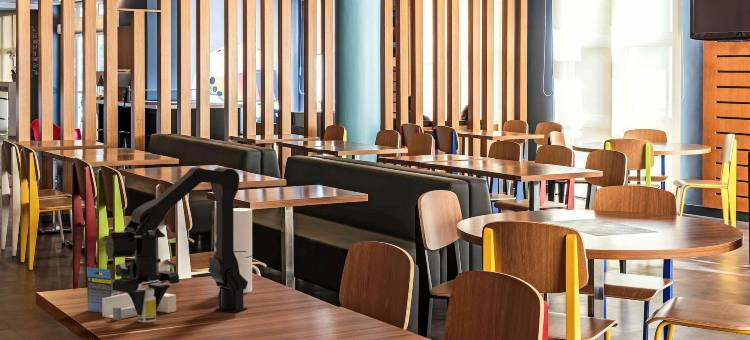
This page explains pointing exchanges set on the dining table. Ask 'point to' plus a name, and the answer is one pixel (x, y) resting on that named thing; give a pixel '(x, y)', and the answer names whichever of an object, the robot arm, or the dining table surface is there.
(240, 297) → the robot arm
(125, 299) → the white bracket
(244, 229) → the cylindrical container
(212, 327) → the dining table surface
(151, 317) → the supplement bottle
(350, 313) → the dining table surface
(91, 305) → the label tape cartridge
